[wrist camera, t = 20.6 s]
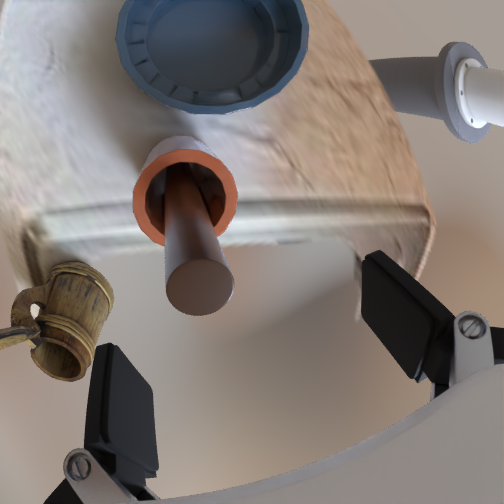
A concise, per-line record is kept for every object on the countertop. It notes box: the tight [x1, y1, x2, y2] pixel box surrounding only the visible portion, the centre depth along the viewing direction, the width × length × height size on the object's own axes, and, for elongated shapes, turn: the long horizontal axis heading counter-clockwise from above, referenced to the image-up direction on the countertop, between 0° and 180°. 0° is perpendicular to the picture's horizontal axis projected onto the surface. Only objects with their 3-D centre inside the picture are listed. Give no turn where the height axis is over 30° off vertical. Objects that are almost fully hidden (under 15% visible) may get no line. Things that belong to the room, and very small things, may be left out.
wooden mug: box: [0, 262, 114, 382], centre depth 21 cm, size 9×14×18 cm, turn 20°
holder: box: [133, 135, 238, 246], centre depth 23 cm, size 7×7×11 cm
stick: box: [165, 162, 234, 316], centre depth 18 cm, size 2×2×20 cm
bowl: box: [115, 0, 309, 114], centre depth 19 cm, size 15×15×6 cm
